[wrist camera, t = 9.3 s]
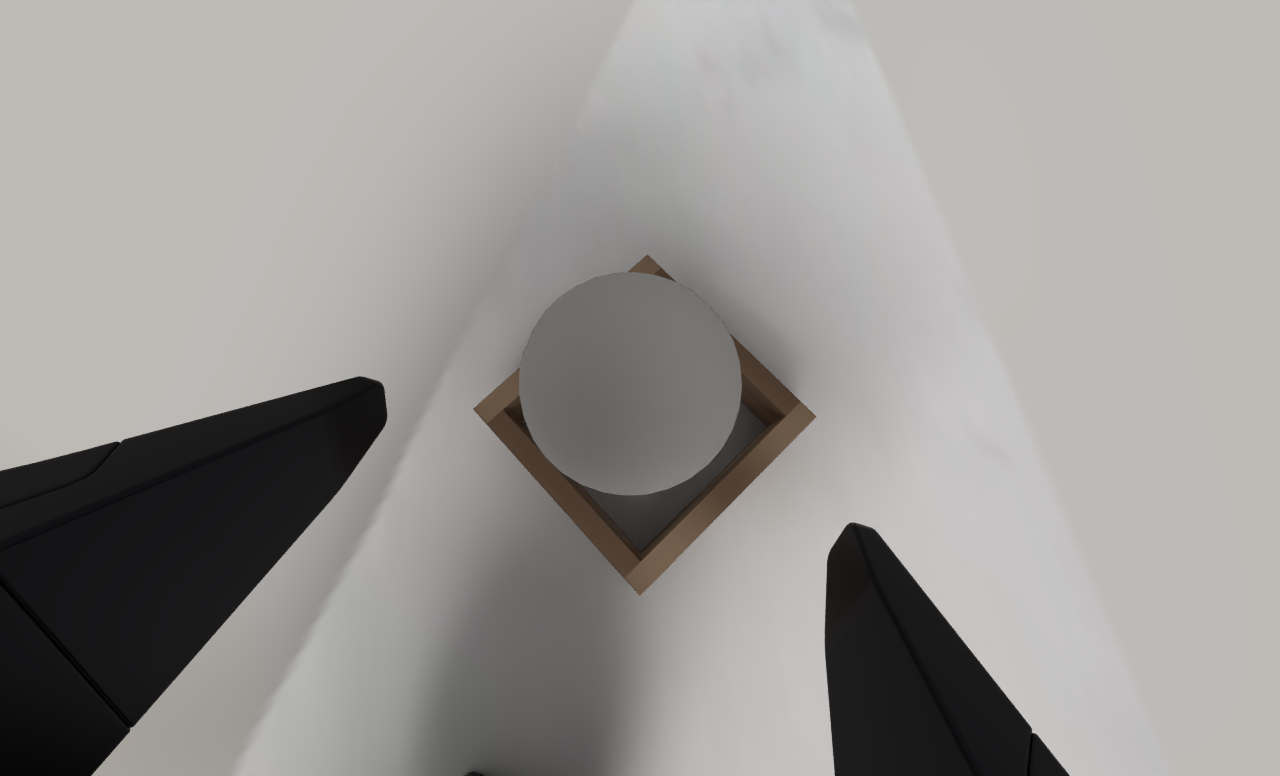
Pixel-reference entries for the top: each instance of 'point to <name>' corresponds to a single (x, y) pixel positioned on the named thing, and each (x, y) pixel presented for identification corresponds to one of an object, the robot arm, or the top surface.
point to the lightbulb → (630, 384)
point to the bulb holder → (645, 567)
